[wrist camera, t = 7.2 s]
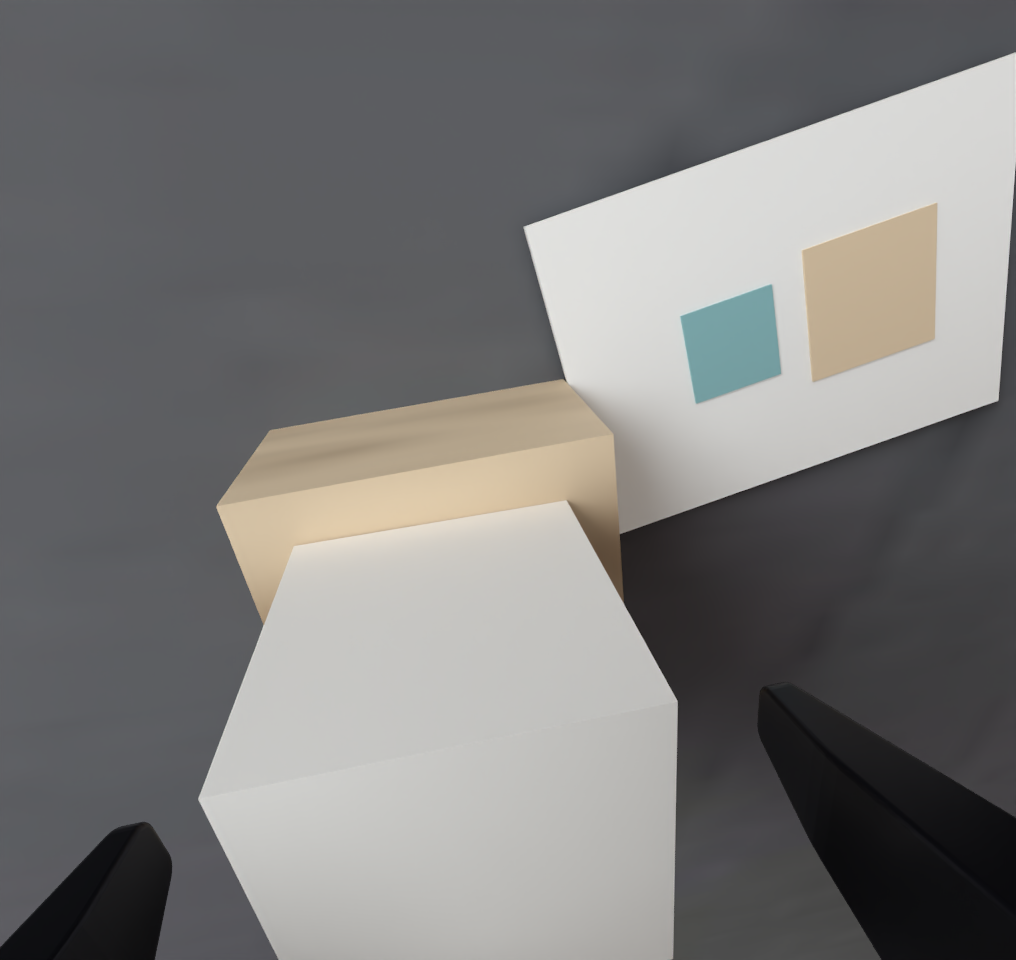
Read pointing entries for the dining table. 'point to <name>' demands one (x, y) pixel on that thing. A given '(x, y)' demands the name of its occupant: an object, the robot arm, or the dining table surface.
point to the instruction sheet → (791, 293)
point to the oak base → (422, 475)
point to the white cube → (452, 752)
